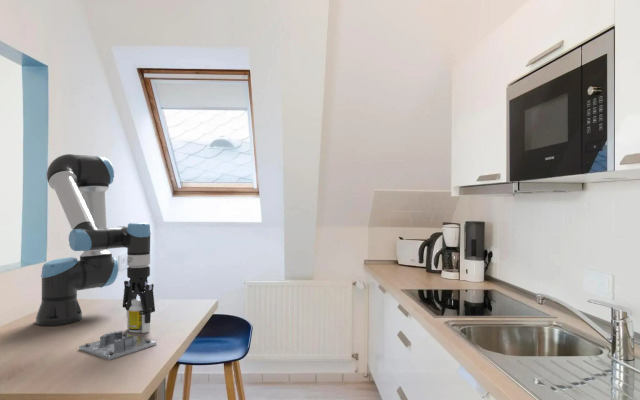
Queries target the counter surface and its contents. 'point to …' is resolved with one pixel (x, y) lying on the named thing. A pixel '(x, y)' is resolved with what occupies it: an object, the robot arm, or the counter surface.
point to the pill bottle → (135, 316)
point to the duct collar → (116, 345)
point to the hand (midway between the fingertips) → (138, 329)
